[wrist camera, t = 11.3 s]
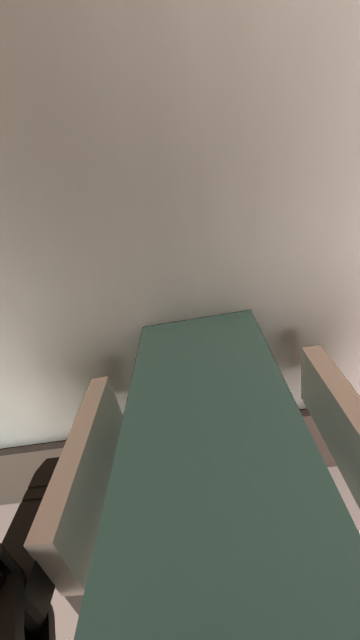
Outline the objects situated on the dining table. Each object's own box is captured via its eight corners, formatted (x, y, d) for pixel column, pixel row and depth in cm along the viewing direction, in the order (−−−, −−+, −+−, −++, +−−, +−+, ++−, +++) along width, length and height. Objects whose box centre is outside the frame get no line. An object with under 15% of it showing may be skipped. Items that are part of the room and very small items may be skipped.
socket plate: (-29, 453, 18) (-72, 513, 15) (333, 405, 16) (370, 462, 13) (65, 582, 25) (49, 641, 22) (323, 558, 24) (344, 618, 20)
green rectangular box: (143, 327, 14) (31, 830, 3) (250, 309, 14) (498, 821, 3) (164, 406, 16) (137, 859, 6) (257, 393, 16) (413, 855, 5)
